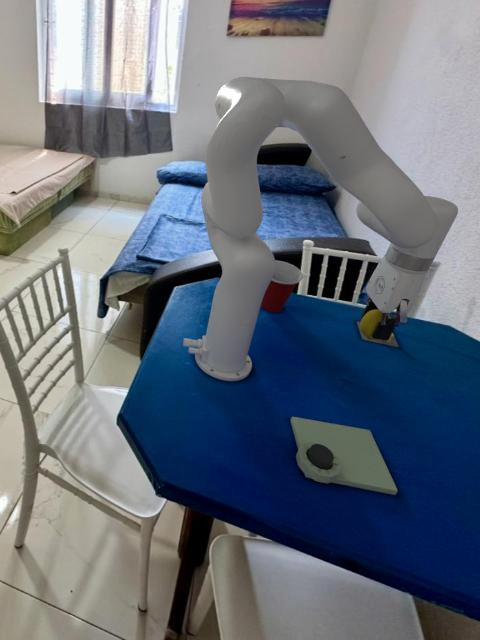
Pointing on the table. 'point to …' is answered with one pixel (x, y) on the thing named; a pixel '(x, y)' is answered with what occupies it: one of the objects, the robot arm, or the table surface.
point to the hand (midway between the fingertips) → (373, 328)
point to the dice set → (387, 342)
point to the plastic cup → (281, 286)
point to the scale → (343, 455)
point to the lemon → (370, 323)
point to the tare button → (320, 456)
